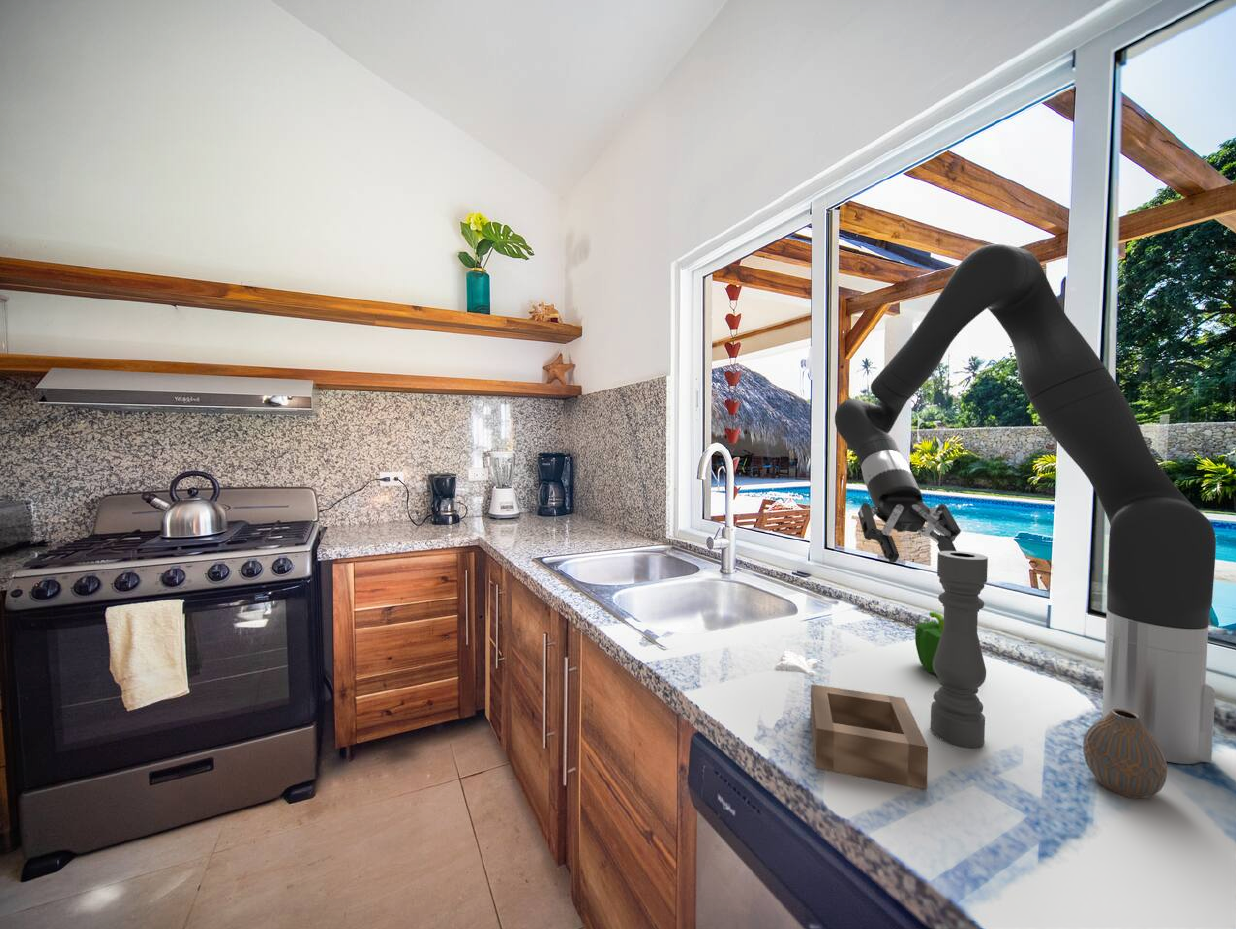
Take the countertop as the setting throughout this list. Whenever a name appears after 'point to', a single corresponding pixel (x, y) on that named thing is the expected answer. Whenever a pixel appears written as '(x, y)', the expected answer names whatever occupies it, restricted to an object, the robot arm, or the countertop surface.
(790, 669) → the acanthus leaf ornament
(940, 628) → the bell pepper
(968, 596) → the candle holder
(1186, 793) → the countertop surface
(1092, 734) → the vase
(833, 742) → the socket block
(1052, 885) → the countertop surface
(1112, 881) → the countertop surface
